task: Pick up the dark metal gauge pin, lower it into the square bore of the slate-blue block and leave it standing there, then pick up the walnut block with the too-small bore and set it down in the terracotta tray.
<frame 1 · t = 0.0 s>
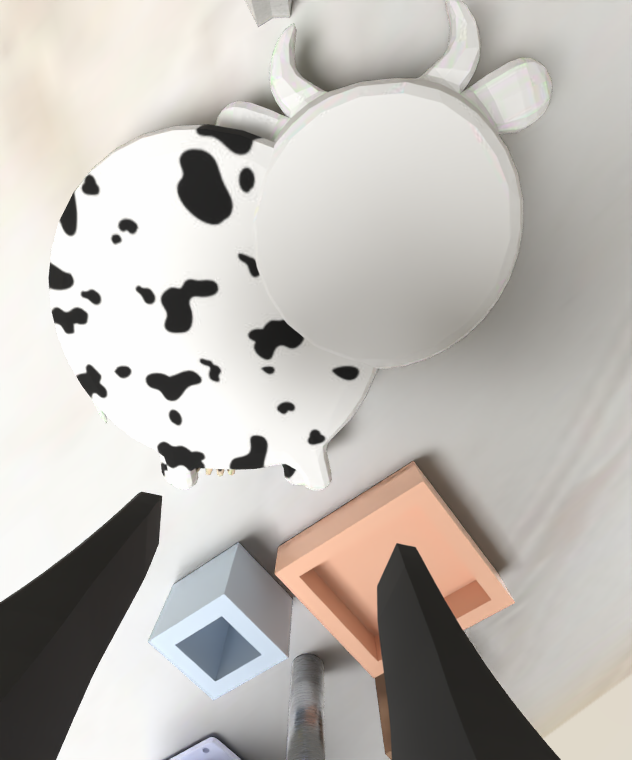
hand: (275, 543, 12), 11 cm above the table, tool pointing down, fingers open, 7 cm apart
slate block: (233, 591, 26), on the table
walnut block: (413, 673, 28), on the table
toy: (287, 289, 21), on the table
gauge pin: (307, 666, 28), on the table
tray: (389, 560, 25), on the table
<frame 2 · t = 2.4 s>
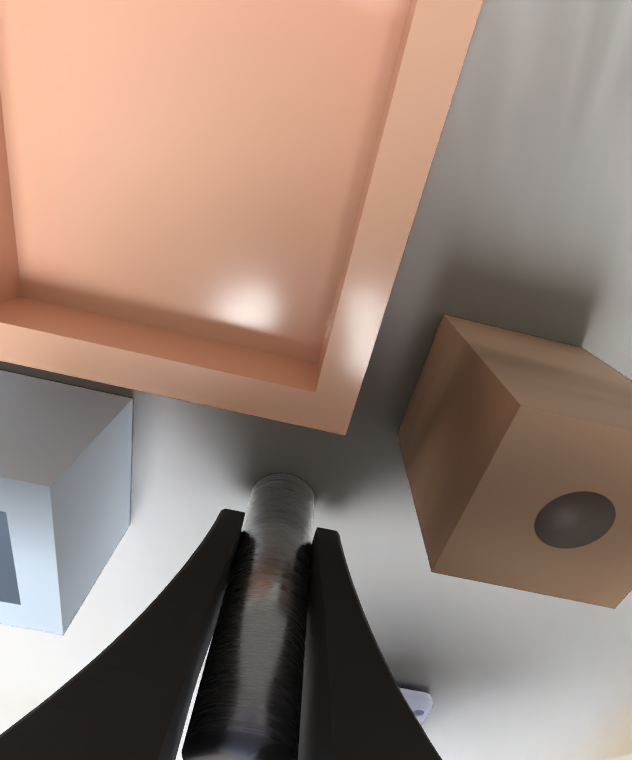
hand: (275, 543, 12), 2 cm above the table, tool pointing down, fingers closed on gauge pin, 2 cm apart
slate block: (48, 450, 13), on the table
walnut block: (482, 393, 12), on the table
gauge pin: (282, 498, 14), on the table, touching gripper
tray: (192, 167, 9), on the table
when the fingers open (4 cm above the table, at t = 5.2 s): gauge pin drops 2 cm, resting in slate block.
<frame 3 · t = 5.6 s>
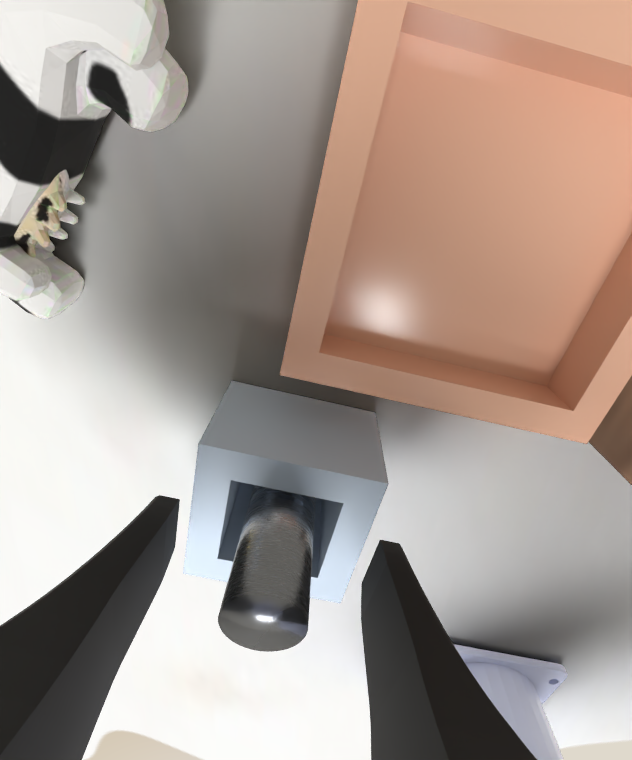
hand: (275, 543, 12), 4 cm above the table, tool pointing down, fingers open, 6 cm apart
slate block: (290, 454, 16), on the table
gauge pin: (291, 451, 16), resting in slate block
tray: (478, 236, 12), on the table
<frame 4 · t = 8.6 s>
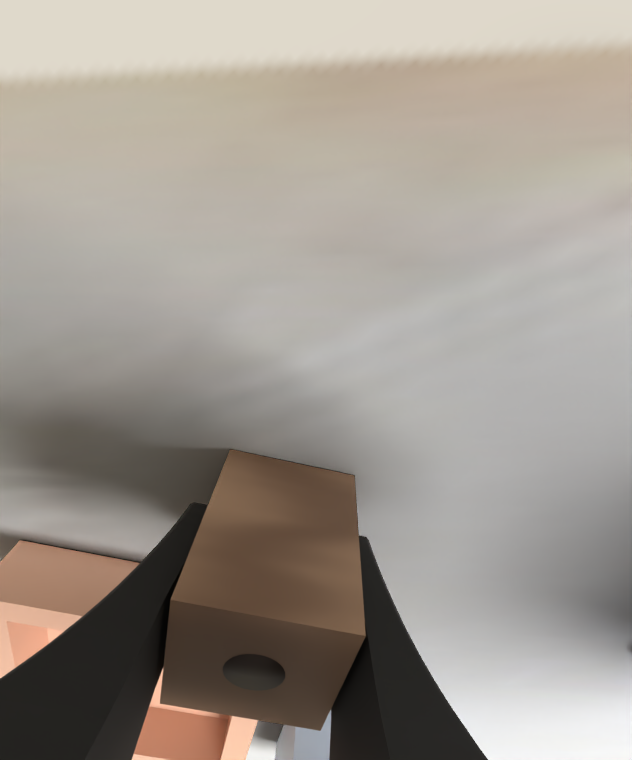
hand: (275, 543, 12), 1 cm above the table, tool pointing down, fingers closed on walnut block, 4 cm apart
slate block: (342, 725, 19), on the table
walnut block: (281, 508, 13), on the table, touching gripper
tray: (150, 643, 17), on the table
when the fingers open (3 cm above the table, at t = 12.4 s): walnut block stays where it is, resting on tray.
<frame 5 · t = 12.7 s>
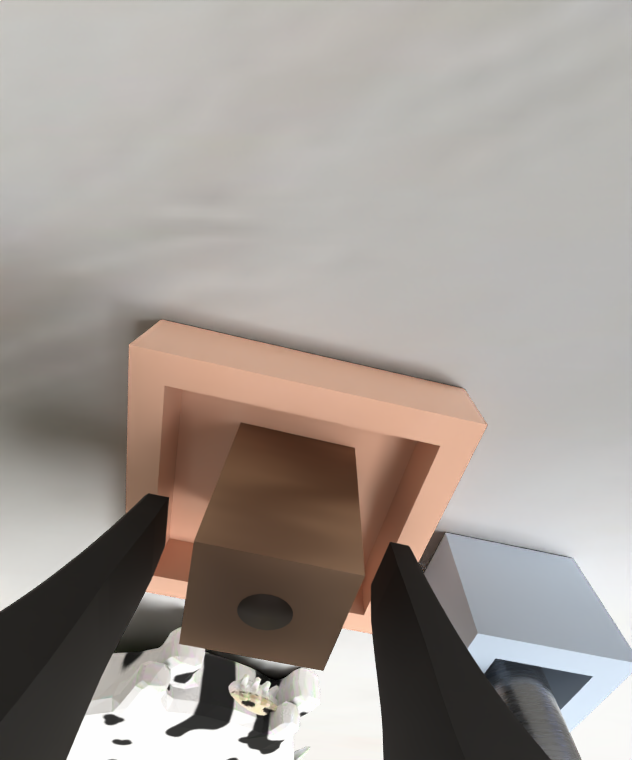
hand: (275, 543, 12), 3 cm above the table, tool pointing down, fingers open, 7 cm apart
slate block: (482, 589, 17), on the table
walnut block: (286, 479, 14), resting on tray
toy: (108, 682, 23), on the table
gauge pin: (479, 587, 17), resting in slate block
tray: (286, 474, 15), on the table
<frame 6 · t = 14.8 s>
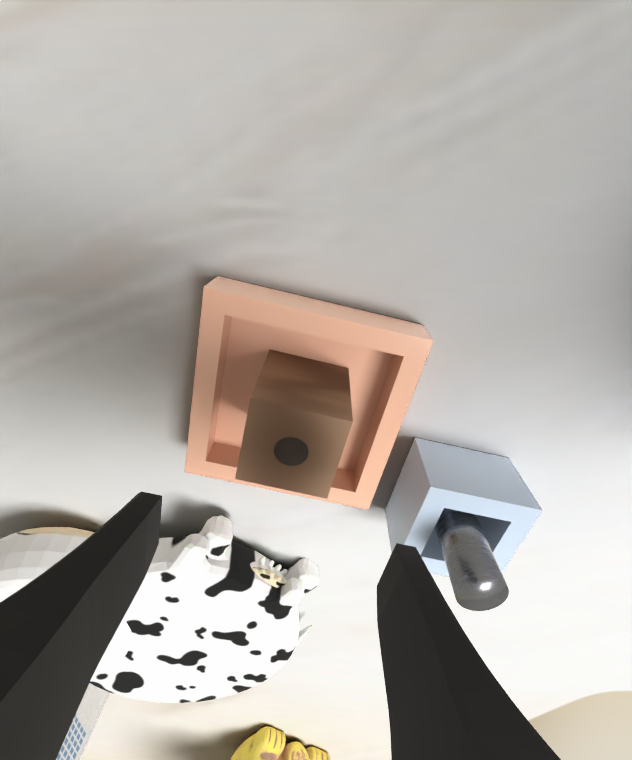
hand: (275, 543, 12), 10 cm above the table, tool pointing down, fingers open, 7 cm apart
building model: (76, 664, 34), on the table
figurine: (267, 746, 38), on the table
slate block: (444, 485, 23), on the table
walnut block: (300, 393, 20), resting on tray
toy: (152, 579, 29), on the table
gauge pin: (441, 484, 23), resting in slate block
tray: (300, 391, 21), on the table
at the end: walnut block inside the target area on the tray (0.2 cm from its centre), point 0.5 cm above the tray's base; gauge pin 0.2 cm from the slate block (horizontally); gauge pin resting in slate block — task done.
